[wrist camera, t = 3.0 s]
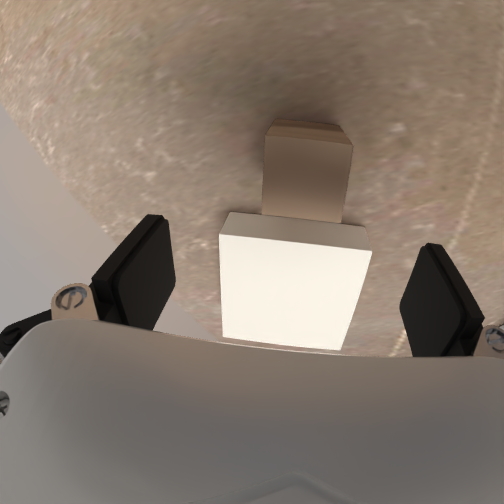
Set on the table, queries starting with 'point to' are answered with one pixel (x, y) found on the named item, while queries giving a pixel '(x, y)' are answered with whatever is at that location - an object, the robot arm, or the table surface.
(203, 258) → the table surface
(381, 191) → the table surface
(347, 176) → the walnut block
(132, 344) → the robot arm
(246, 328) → the base
